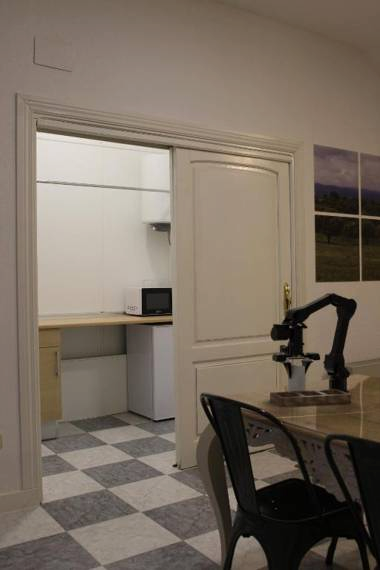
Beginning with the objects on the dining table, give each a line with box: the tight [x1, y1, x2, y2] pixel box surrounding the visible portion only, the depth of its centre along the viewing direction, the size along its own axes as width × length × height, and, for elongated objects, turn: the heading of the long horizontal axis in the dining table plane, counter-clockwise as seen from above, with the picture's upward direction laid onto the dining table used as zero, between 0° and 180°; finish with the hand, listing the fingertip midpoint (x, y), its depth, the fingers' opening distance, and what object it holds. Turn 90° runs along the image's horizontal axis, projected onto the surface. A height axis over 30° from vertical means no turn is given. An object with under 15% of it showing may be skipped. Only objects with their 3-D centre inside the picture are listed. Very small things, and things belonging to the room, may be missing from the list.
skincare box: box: [287, 363, 307, 392], centre depth 236 cm, size 6×4×12 cm
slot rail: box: [269, 388, 352, 407], centre depth 223 cm, size 28×12×3 cm, turn 102°
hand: (296, 378), depth 236 cm, fingers closed on skincare box, 5 cm apart
